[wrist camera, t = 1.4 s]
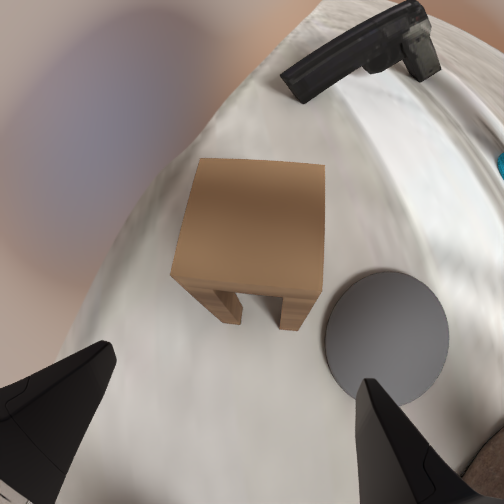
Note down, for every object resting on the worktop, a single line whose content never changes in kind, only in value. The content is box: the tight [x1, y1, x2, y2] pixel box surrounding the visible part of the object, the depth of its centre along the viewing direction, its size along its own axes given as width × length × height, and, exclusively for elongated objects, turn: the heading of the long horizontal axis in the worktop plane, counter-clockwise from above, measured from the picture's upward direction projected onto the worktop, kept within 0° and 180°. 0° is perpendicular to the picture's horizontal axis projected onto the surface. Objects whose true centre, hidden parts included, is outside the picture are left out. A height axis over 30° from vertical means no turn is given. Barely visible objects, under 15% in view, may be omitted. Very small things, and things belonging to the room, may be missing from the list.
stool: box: [170, 158, 325, 331], centre depth 17 cm, size 6×6×12 cm
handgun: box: [280, 0, 442, 104], centre depth 29 cm, size 2×24×15 cm, turn 113°
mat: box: [325, 272, 449, 406], centre depth 20 cm, size 11×11×1 cm
